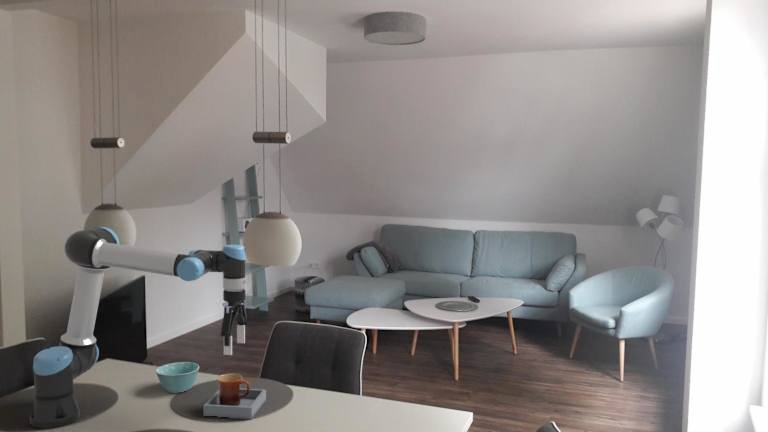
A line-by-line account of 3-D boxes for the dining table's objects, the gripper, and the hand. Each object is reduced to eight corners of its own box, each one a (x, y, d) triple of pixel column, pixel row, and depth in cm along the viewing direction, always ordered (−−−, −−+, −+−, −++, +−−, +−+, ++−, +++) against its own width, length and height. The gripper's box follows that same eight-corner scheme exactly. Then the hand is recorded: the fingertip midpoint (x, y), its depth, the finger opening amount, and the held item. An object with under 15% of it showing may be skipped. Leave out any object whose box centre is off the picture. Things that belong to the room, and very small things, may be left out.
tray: (203, 416, 219) (203, 405, 218) (221, 397, 235) (221, 387, 235) (251, 419, 217) (251, 407, 216) (266, 400, 234) (266, 389, 233)
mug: (212, 409, 223) (212, 380, 222) (224, 399, 231) (223, 372, 230) (244, 412, 220) (244, 383, 219) (255, 402, 229) (254, 375, 228)
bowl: (149, 388, 244) (149, 367, 244) (188, 378, 255) (188, 358, 254) (166, 400, 233) (166, 378, 232) (206, 389, 243) (206, 368, 243)
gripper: (232, 297, 209) (232, 360, 211) (255, 282, 234) (255, 338, 236) (210, 296, 210) (211, 359, 212) (235, 281, 235) (236, 337, 237)
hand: (234, 348), depth 224 cm, fingers open, 13 cm apart
